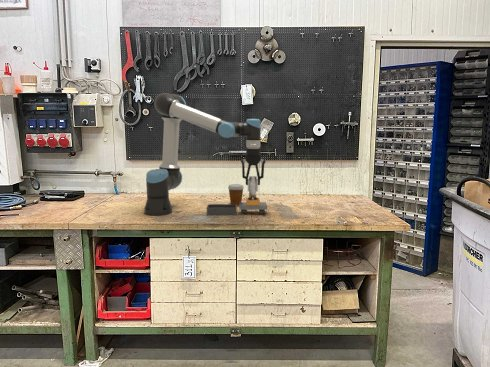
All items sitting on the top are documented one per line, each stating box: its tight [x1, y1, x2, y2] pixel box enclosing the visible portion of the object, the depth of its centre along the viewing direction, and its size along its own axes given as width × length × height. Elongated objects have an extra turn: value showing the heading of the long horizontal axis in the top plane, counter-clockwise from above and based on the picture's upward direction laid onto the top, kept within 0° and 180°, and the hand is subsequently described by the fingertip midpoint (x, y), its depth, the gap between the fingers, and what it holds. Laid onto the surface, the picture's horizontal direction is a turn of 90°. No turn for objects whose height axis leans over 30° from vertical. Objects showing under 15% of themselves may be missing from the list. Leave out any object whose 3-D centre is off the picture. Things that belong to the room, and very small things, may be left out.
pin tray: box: [206, 203, 238, 216], centre depth 206 cm, size 16×9×4 cm, turn 92°
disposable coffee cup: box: [227, 183, 245, 207], centre depth 226 cm, size 10×10×12 cm
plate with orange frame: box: [238, 197, 268, 216], centre depth 206 cm, size 15×9×8 cm, turn 92°
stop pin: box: [248, 175, 258, 200], centre depth 205 cm, size 4×4×13 cm
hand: (252, 190), depth 205 cm, fingers closed on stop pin, 4 cm apart
